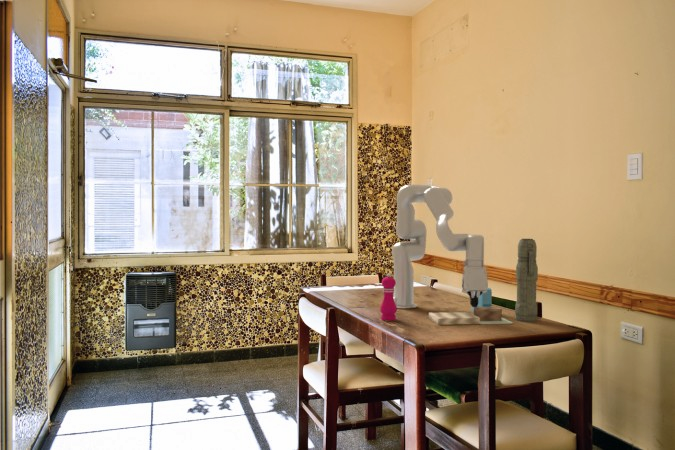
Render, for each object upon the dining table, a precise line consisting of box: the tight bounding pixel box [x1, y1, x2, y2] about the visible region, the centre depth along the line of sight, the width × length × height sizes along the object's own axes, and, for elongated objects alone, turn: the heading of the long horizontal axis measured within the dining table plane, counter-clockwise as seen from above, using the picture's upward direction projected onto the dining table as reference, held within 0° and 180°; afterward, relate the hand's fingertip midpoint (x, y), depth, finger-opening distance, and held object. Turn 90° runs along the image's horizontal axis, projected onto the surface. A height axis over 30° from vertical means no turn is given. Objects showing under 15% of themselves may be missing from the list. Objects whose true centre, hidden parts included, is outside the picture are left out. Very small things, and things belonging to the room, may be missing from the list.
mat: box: [479, 317, 514, 325], centre depth 234 cm, size 14×15×1 cm
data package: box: [471, 287, 493, 312], centre depth 251 cm, size 12×4×12 cm, turn 10°
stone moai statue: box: [514, 238, 539, 323], centre depth 235 cm, size 9×12×35 cm
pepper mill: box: [379, 272, 398, 322], centre depth 235 cm, size 7×7×20 cm
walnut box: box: [473, 306, 503, 321], centre depth 233 cm, size 10×6×5 cm, turn 95°
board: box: [428, 311, 481, 326], centre depth 232 cm, size 18×13×2 cm
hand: (474, 306), depth 233 cm, fingers closed
